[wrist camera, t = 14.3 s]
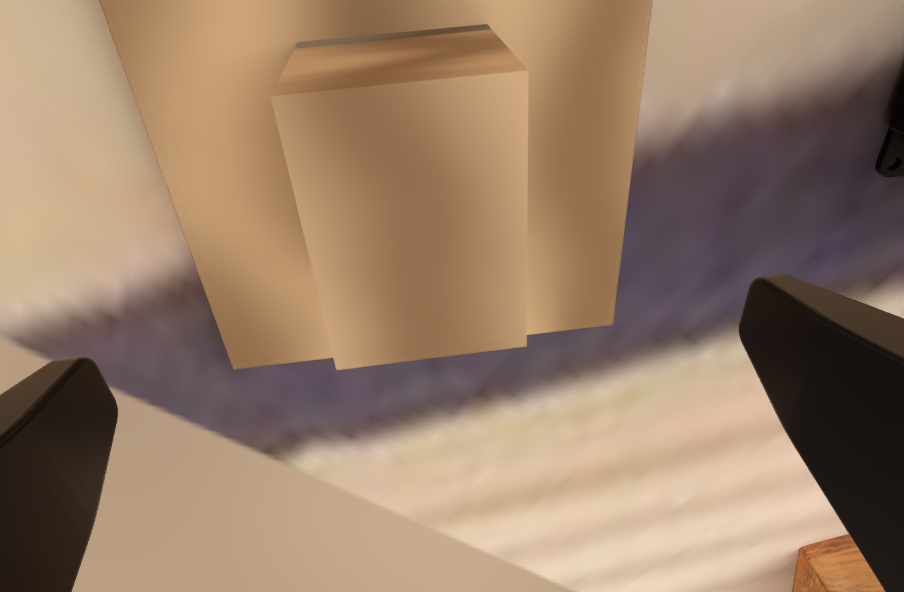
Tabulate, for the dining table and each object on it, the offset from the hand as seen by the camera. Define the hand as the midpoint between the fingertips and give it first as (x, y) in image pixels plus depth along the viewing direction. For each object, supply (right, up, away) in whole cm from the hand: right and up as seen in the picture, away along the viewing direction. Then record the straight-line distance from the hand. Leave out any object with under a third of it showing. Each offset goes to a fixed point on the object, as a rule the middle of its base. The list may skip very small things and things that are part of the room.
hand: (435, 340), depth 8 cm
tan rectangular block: (-1, +5, +9) cm, 10 cm away
